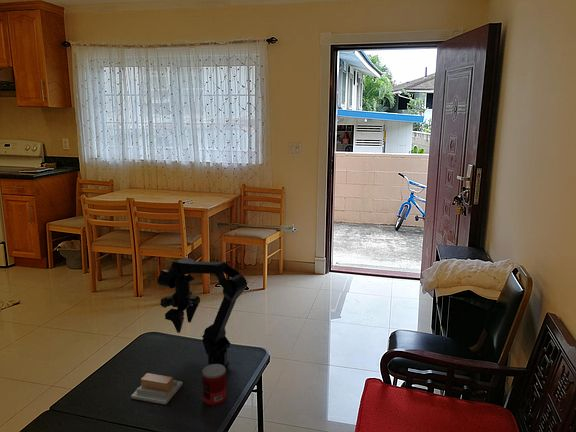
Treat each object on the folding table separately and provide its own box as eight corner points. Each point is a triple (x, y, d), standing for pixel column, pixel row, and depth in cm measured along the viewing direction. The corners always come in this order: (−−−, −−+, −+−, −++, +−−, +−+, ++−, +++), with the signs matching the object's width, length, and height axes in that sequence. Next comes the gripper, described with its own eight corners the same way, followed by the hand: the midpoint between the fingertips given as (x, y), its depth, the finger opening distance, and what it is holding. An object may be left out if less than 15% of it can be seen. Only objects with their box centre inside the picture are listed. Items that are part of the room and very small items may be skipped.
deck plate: (182, 384, 162) (182, 378, 162) (165, 404, 151) (165, 397, 151) (150, 379, 166) (149, 372, 165) (131, 398, 154) (130, 391, 154)
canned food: (230, 394, 157) (229, 365, 154) (219, 408, 149) (218, 378, 147) (210, 390, 159) (209, 361, 157) (198, 403, 152) (197, 373, 149)
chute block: (173, 387, 159) (172, 377, 158) (167, 394, 155) (166, 383, 154) (147, 383, 161) (147, 372, 160) (141, 389, 157) (140, 379, 157)
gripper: (175, 280, 187) (176, 315, 191) (151, 297, 170) (153, 335, 173) (200, 282, 185) (201, 318, 188) (178, 300, 167) (180, 339, 170)
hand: (184, 327), depth 180 cm, fingers open, 9 cm apart
